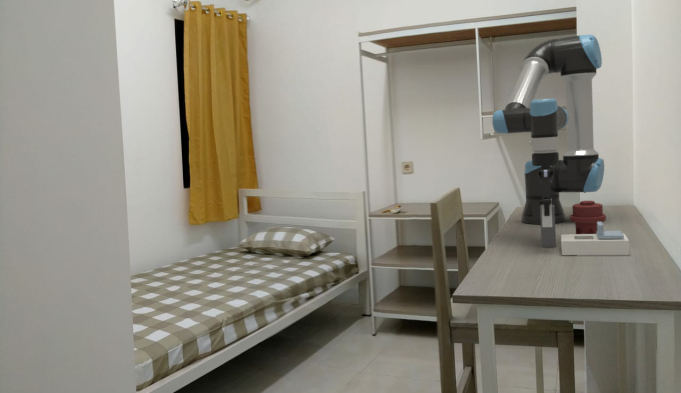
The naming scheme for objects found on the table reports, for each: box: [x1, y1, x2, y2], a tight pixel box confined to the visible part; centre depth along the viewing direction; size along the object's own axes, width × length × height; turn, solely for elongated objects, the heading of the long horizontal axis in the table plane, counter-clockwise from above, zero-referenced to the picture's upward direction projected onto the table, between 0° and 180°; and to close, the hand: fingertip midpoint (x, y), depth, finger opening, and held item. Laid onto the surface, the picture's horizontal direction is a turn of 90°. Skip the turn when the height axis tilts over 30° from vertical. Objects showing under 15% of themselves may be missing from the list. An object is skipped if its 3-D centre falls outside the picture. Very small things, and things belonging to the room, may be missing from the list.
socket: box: [560, 233, 630, 256], centre depth 173 cm, size 10×17×4 cm, turn 71°
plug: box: [540, 205, 557, 248], centre depth 184 cm, size 4×4×14 cm
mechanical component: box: [569, 200, 607, 234], centre depth 185 cm, size 12×10×10 cm
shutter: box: [596, 222, 624, 239], centre depth 171 cm, size 7×6×4 cm
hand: (547, 223), depth 184 cm, fingers open, 13 cm apart
